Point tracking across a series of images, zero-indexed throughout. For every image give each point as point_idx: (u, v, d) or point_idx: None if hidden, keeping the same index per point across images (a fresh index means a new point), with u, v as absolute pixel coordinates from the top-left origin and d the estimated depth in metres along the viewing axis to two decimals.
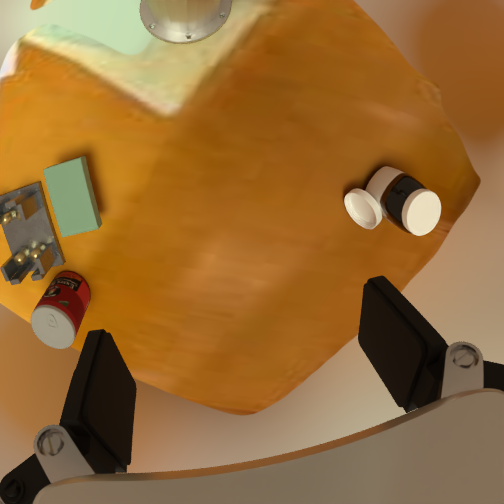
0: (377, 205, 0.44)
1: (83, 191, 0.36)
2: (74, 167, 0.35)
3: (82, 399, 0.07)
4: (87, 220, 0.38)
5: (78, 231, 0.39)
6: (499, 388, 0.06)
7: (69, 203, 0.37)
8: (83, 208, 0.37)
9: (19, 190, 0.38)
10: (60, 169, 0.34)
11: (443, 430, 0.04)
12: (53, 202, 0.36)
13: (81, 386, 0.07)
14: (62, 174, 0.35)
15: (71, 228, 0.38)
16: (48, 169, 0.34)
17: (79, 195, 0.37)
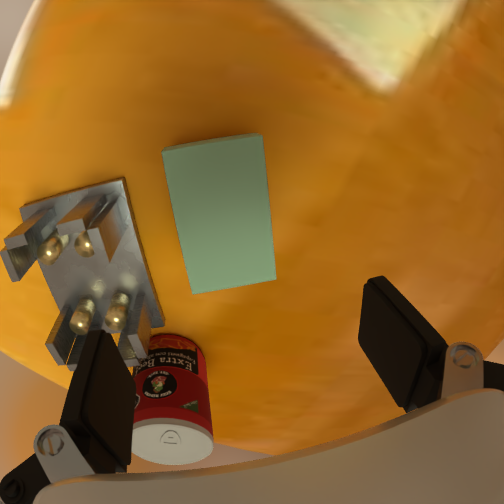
0: None
1: (259, 206, 0.20)
2: (245, 154, 0.18)
3: (81, 399, 0.07)
4: (256, 264, 0.22)
5: (232, 284, 0.22)
6: (499, 388, 0.06)
7: (221, 229, 0.20)
8: (252, 241, 0.21)
9: (77, 193, 0.21)
10: (207, 155, 0.18)
11: (443, 430, 0.04)
12: (181, 226, 0.19)
13: (81, 386, 0.07)
14: (212, 166, 0.18)
15: (217, 278, 0.22)
16: (176, 152, 0.17)
17: (248, 215, 0.20)
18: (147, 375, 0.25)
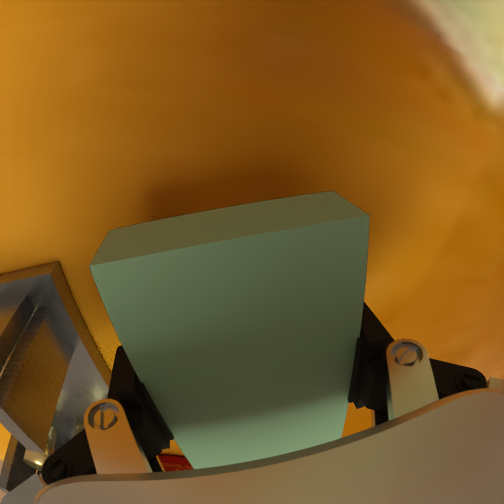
0: None
1: (335, 365, 0.08)
2: (321, 266, 0.07)
3: None
4: (312, 437, 0.10)
5: None
6: (450, 395, 0.06)
7: (253, 409, 0.09)
8: (311, 414, 0.09)
9: None
10: (220, 274, 0.06)
11: (443, 430, 0.04)
12: (165, 408, 0.08)
13: None
14: (233, 301, 0.07)
15: (241, 459, 0.10)
16: (129, 268, 0.06)
17: (310, 382, 0.09)
18: None
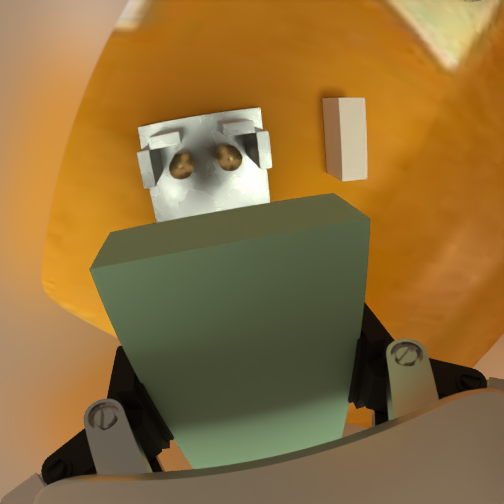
0: None
1: (335, 367, 0.08)
2: (322, 269, 0.07)
3: None
4: (312, 438, 0.10)
5: None
6: (450, 395, 0.06)
7: (253, 410, 0.09)
8: (311, 415, 0.09)
9: (212, 115, 0.23)
10: (221, 277, 0.06)
11: (443, 430, 0.04)
12: (166, 410, 0.08)
13: None
14: (234, 304, 0.07)
15: (242, 460, 0.10)
16: (129, 271, 0.06)
17: (310, 384, 0.09)
18: None
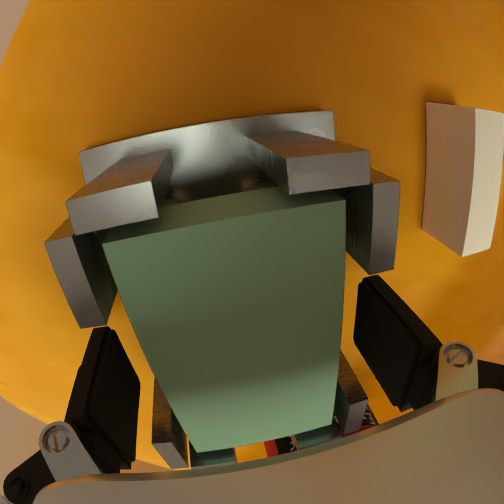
0: None
1: (321, 339, 0.09)
2: (303, 244, 0.08)
3: (87, 395, 0.07)
4: (304, 414, 0.11)
5: (261, 439, 0.12)
6: (494, 388, 0.06)
7: (246, 381, 0.10)
8: (301, 389, 0.10)
9: (234, 124, 0.11)
10: (214, 251, 0.07)
11: (443, 430, 0.04)
12: (166, 379, 0.09)
13: (86, 382, 0.07)
14: (227, 275, 0.08)
15: (237, 436, 0.11)
16: (136, 245, 0.07)
17: (298, 356, 0.10)
18: None
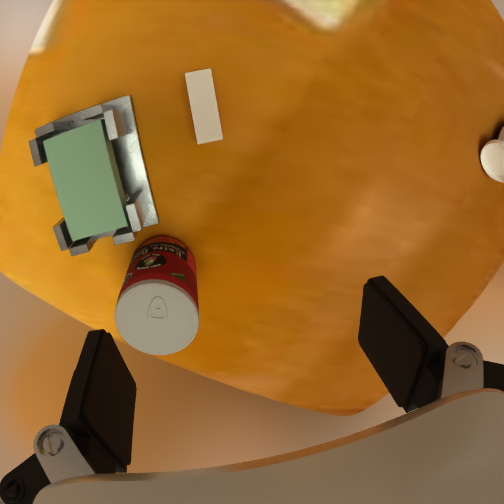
0: None
1: (104, 169, 0.25)
2: (90, 134, 0.23)
3: (82, 398, 0.07)
4: (110, 214, 0.26)
5: (96, 231, 0.27)
6: (499, 388, 0.06)
7: (83, 189, 0.25)
8: (104, 196, 0.26)
9: None
10: (68, 139, 0.23)
11: (443, 430, 0.04)
12: (58, 189, 0.24)
13: (81, 386, 0.07)
14: (72, 146, 0.23)
15: (86, 227, 0.26)
16: (51, 140, 0.22)
17: (98, 177, 0.25)
18: (140, 258, 0.29)
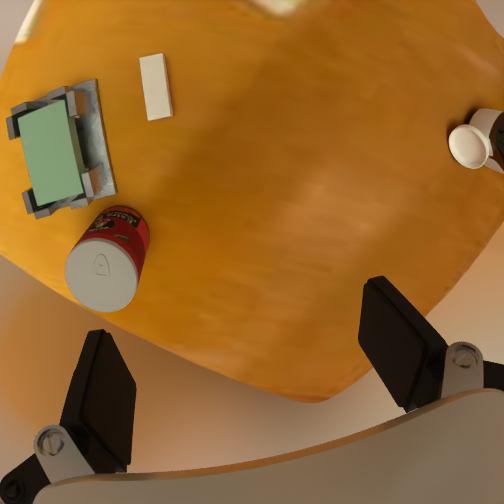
0: (486, 141, 0.33)
1: (65, 142, 0.26)
2: (55, 112, 0.24)
3: (82, 398, 0.07)
4: (69, 181, 0.27)
5: (57, 197, 0.28)
6: (499, 388, 0.06)
7: (47, 160, 0.26)
8: (64, 165, 0.27)
9: None
10: (38, 116, 0.24)
11: (443, 430, 0.04)
12: (27, 160, 0.25)
13: (81, 386, 0.07)
14: (40, 122, 0.24)
15: (49, 193, 0.27)
16: (24, 117, 0.23)
17: (60, 149, 0.26)
18: (94, 223, 0.30)
